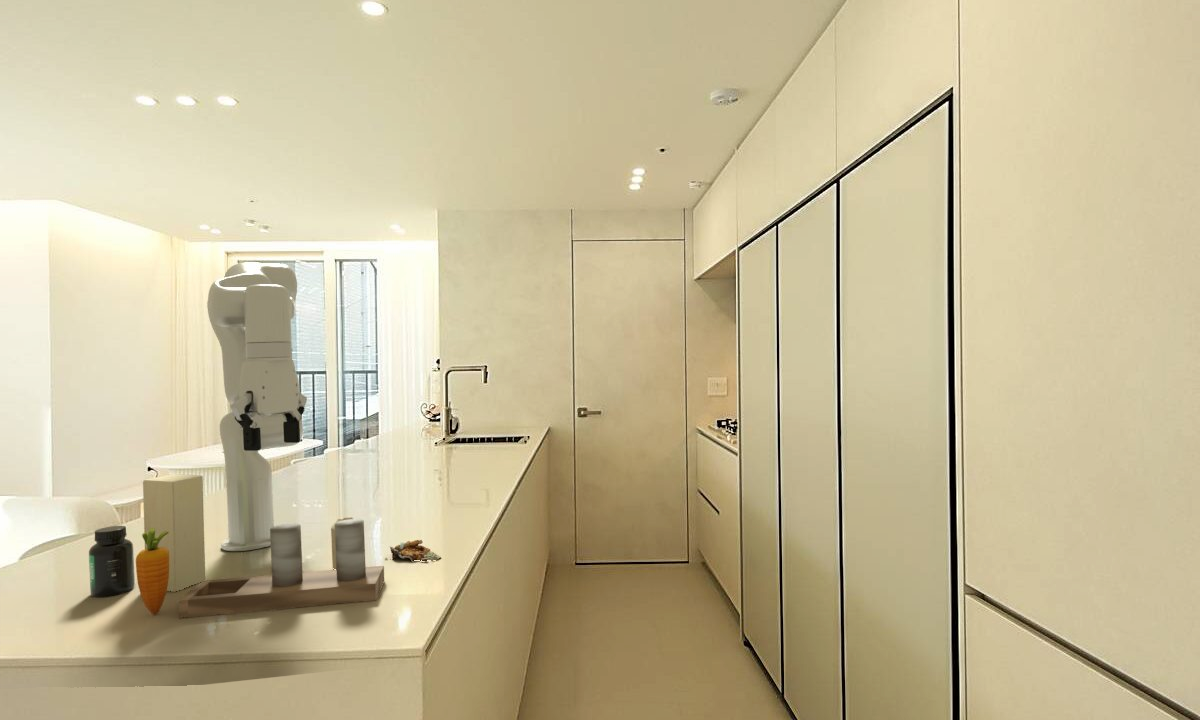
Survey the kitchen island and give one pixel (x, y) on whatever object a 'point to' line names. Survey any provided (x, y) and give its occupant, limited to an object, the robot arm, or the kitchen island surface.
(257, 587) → the rail
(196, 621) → the kitchen island surface
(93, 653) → the kitchen island surface
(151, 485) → the beige tall rectangular block
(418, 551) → the brown irregular lump
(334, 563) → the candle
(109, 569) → the supplement bottle
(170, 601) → the kitchen island surface
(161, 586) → the carrot
